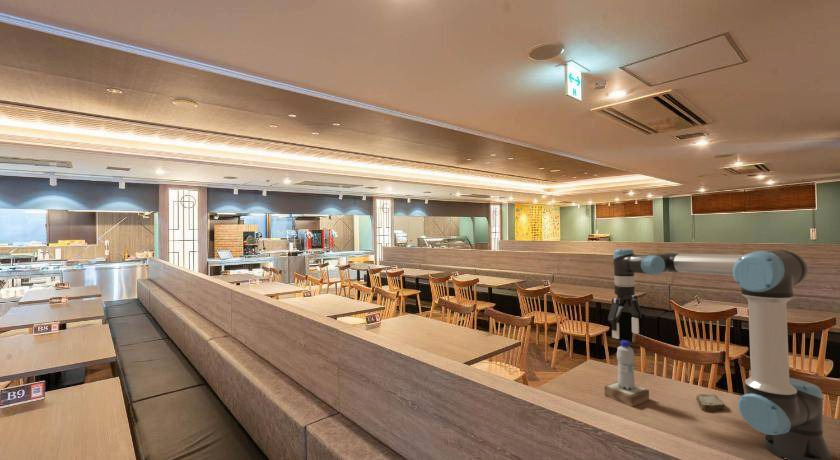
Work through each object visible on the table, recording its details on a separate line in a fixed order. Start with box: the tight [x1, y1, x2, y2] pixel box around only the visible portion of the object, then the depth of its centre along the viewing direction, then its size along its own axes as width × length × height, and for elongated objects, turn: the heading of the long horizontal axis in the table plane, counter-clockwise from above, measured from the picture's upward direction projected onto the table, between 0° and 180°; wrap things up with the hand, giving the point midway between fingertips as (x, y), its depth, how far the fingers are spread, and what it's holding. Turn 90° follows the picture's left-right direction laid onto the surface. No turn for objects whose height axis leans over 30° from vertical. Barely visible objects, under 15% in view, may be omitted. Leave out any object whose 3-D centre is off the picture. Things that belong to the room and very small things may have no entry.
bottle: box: [616, 339, 636, 390], centre depth 160 cm, size 7×7×20 cm
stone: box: [695, 393, 726, 413], centre depth 152 cm, size 15×8×3 cm, turn 153°
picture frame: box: [604, 381, 650, 408], centre depth 161 cm, size 12×12×4 cm
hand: (625, 335), depth 160 cm, fingers open, 13 cm apart
